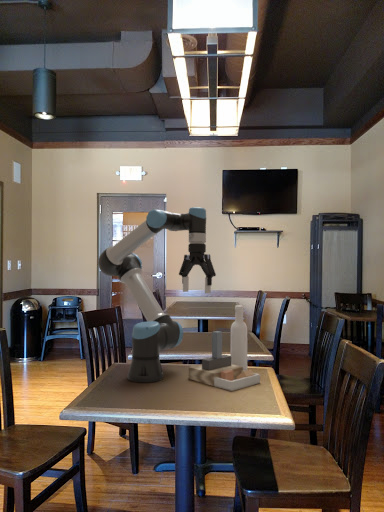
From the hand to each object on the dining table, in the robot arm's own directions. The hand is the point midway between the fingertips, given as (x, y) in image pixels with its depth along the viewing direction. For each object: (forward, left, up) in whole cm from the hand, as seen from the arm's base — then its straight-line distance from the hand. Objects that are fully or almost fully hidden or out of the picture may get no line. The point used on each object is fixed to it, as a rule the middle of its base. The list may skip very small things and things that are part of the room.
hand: (196, 292), depth 180 cm
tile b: (+19, +10, -33) cm, 39 cm away
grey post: (+7, +6, -32) cm, 33 cm away
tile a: (+15, +2, -34) cm, 37 cm away
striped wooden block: (+7, +6, -37) cm, 38 cm away
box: (+19, +6, -37) cm, 41 cm away
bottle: (+4, +24, -37) cm, 44 cm away
